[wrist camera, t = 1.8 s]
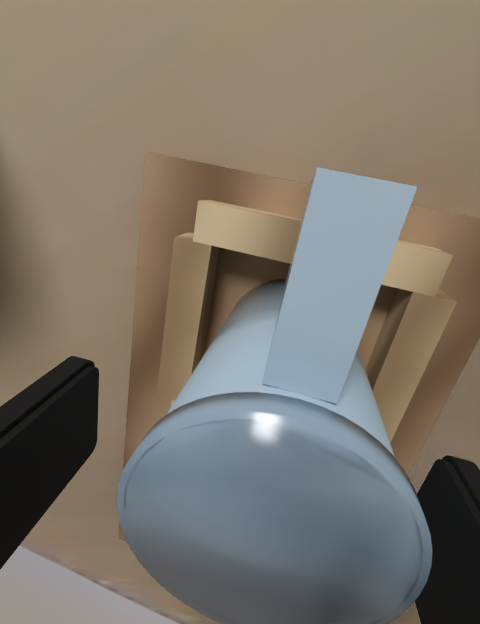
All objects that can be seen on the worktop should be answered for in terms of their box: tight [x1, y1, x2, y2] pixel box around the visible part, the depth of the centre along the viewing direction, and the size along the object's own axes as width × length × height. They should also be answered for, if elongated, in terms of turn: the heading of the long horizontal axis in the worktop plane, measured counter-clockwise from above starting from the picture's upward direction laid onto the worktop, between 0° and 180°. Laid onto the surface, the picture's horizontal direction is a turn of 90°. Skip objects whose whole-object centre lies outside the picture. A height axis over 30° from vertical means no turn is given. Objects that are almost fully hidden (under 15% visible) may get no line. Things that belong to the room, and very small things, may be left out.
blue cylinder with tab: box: [117, 167, 432, 624], centre depth 10 cm, size 10×6×10 cm, turn 169°
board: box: [118, 152, 480, 541], centre depth 18 cm, size 16×26×2 cm, turn 169°
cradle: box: [157, 200, 457, 443], centre depth 15 cm, size 11×11×2 cm
